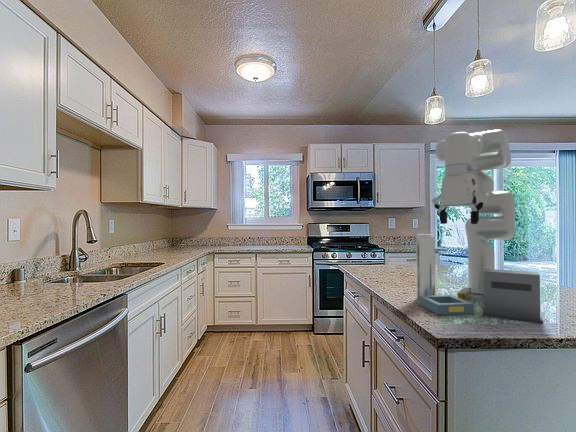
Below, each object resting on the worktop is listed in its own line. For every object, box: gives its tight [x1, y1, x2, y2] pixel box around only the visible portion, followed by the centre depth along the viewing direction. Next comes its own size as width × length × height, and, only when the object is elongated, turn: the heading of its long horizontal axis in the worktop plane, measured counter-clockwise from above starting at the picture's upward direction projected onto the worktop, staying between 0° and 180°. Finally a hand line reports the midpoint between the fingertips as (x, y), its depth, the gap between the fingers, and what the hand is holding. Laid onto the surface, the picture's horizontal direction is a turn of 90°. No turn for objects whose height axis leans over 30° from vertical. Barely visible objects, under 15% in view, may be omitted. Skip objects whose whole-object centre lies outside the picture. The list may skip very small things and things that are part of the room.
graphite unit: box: [481, 269, 544, 325], centre depth 99 cm, size 8×15×14 cm, turn 58°
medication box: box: [456, 286, 472, 302], centre depth 120 cm, size 12×3×4 cm, turn 141°
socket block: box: [418, 294, 475, 317], centre depth 106 cm, size 12×12×4 cm
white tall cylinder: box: [415, 233, 436, 301], centre depth 121 cm, size 6×6×25 cm
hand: (458, 223), depth 103 cm, fingers open, 9 cm apart
